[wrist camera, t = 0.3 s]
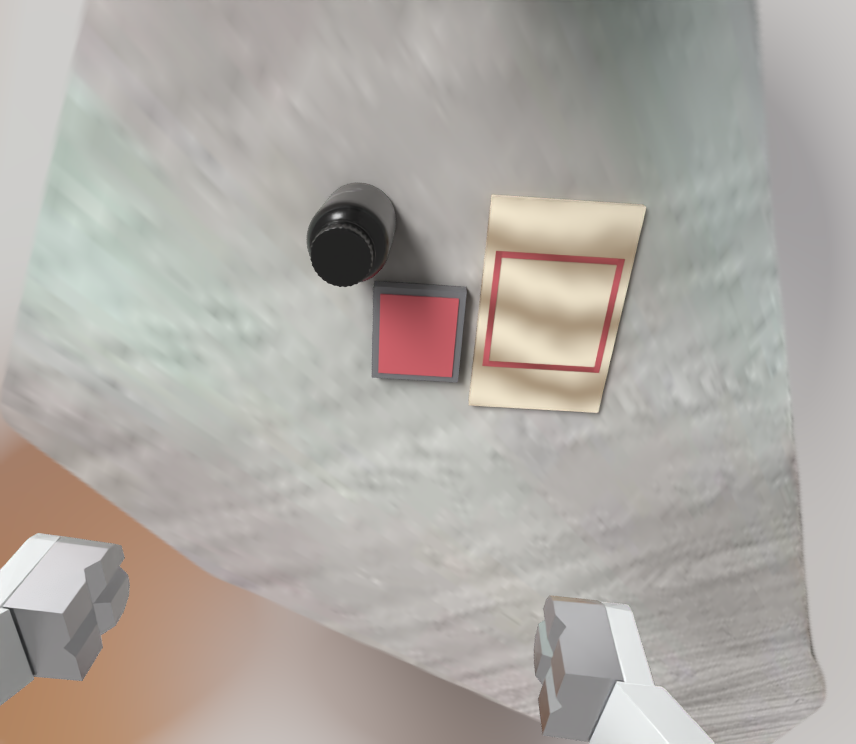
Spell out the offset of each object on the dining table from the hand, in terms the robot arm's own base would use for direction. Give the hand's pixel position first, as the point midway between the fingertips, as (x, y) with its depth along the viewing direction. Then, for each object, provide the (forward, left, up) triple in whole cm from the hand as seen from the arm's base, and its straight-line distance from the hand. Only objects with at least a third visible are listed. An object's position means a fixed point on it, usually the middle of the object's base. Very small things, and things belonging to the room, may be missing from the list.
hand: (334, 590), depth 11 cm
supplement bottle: (+5, -5, -47) cm, 48 cm away
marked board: (+13, +14, -47) cm, 51 cm away
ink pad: (+16, +1, -47) cm, 50 cm away
